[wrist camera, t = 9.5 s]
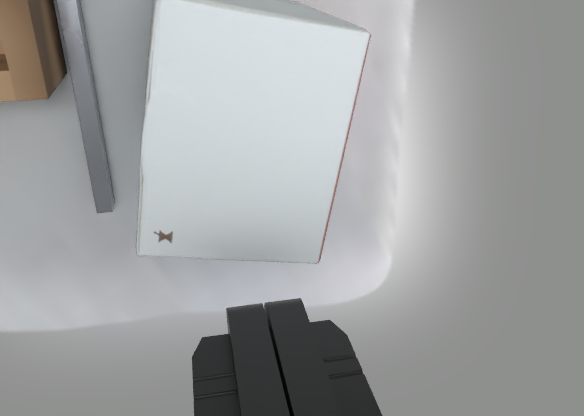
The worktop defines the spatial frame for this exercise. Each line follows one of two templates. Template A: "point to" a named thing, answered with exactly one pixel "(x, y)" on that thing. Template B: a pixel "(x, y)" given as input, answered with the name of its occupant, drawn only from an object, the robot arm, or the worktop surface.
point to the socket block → (29, 50)
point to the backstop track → (86, 102)
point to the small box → (244, 128)
